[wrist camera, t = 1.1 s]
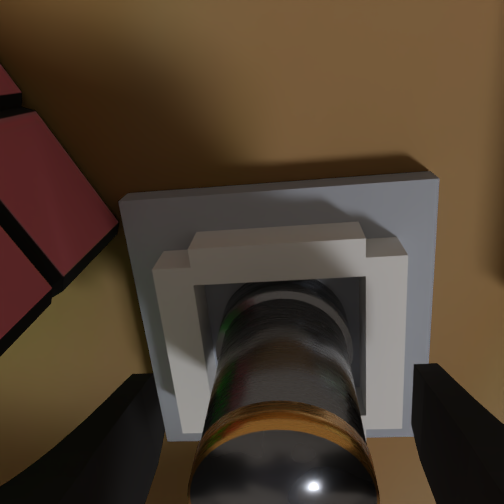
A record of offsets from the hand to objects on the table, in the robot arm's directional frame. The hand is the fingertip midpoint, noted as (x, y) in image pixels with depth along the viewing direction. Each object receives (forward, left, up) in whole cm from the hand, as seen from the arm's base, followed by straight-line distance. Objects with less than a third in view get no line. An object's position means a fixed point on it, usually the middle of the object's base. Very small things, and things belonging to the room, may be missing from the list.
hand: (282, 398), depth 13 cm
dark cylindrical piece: (0, 0, -4) cm, 4 cm away
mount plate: (0, 0, -5) cm, 5 cm away
